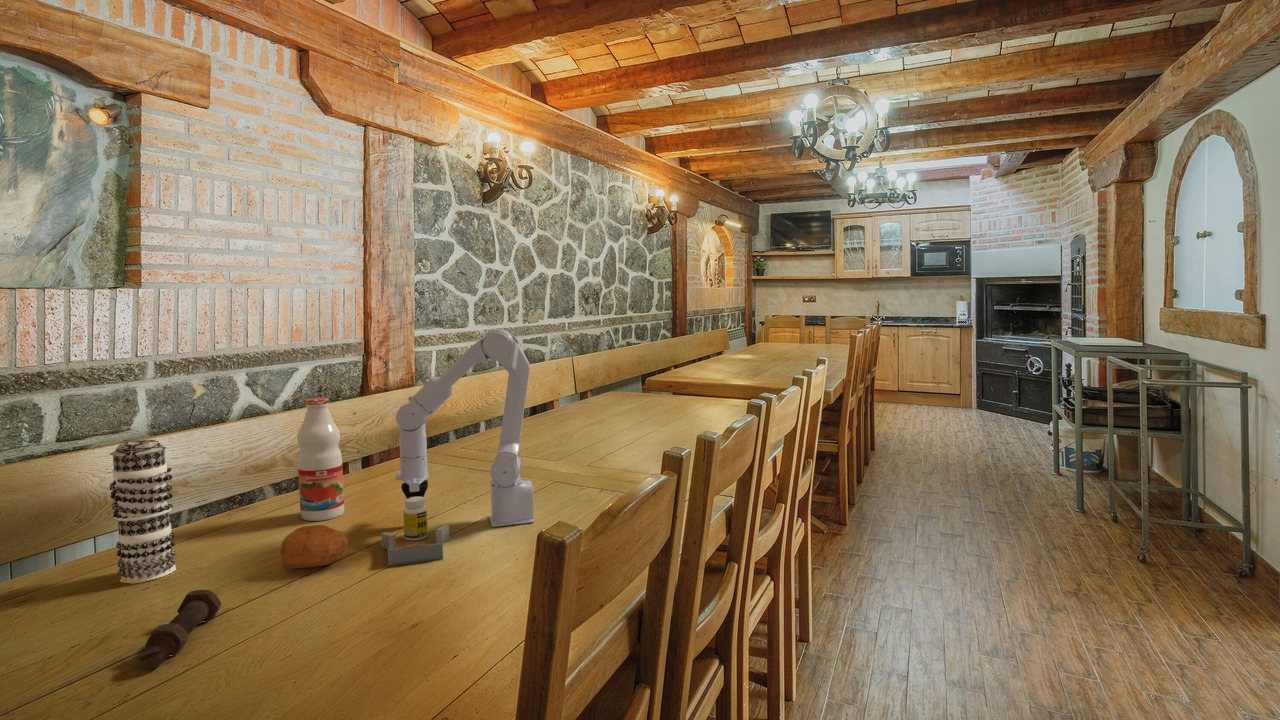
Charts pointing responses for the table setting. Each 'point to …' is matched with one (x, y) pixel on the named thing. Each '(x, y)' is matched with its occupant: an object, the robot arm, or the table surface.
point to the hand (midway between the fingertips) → (415, 514)
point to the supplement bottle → (415, 519)
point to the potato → (312, 547)
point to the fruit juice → (320, 464)
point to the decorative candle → (142, 510)
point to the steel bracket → (414, 549)
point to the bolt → (179, 627)
